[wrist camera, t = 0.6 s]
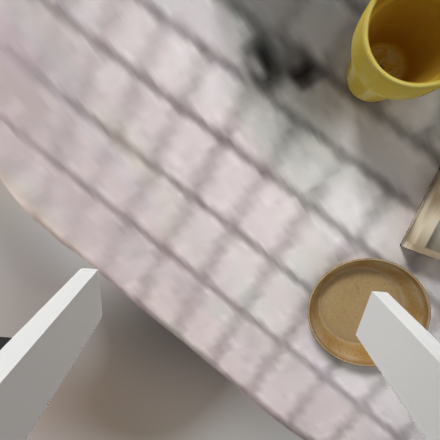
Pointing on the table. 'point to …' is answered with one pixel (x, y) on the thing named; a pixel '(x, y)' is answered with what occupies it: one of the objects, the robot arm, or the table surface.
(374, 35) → the plant pot
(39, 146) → the table surface
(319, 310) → the plant saucer
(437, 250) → the tray
